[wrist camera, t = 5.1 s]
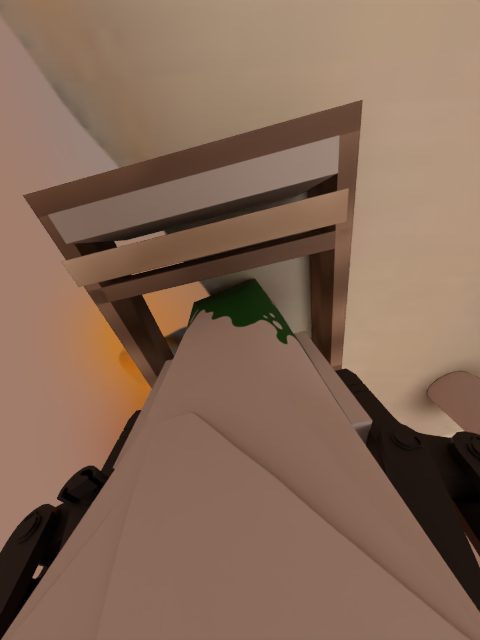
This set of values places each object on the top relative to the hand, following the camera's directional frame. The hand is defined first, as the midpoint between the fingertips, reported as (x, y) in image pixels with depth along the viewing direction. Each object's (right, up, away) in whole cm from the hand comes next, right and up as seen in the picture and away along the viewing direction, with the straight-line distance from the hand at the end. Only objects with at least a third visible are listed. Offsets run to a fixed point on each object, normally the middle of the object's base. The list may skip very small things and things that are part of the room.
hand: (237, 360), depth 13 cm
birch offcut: (-2, +11, +3) cm, 12 cm away
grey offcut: (-3, +13, +2) cm, 13 cm away
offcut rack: (-1, +6, +5) cm, 8 cm away
